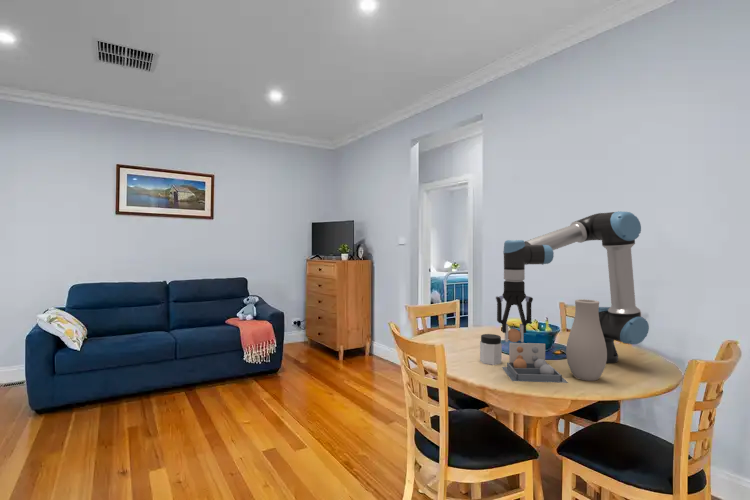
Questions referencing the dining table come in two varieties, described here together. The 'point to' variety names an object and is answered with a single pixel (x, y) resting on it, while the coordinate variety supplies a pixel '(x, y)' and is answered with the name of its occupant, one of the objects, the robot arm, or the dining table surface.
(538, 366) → the grey ball
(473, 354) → the dining table surface
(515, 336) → the ball
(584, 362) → the vase
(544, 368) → the grey ball
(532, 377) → the rack
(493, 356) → the jar
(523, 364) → the terracotta ball
